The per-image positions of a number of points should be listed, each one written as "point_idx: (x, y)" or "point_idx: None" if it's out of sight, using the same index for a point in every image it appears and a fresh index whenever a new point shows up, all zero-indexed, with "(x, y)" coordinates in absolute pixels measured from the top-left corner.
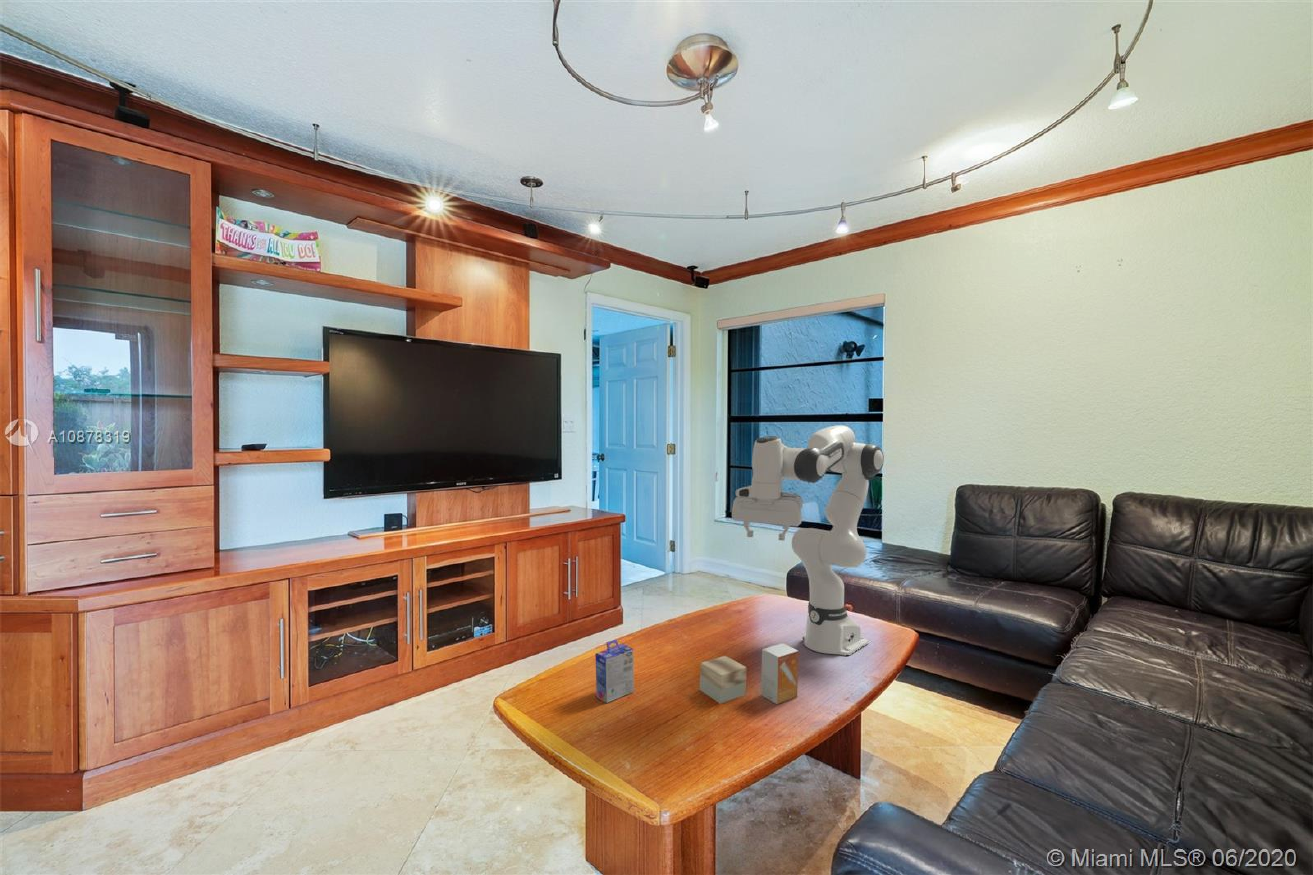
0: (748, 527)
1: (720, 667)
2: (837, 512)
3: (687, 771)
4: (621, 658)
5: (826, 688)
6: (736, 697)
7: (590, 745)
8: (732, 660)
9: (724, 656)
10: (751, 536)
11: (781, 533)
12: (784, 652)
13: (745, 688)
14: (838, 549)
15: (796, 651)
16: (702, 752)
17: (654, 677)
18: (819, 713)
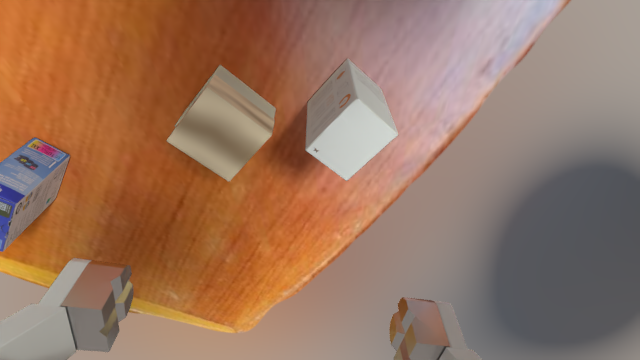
0: (26, 357)
1: (216, 150)
2: None
3: (242, 290)
4: (16, 220)
5: (451, 31)
6: None
7: None
8: (232, 110)
9: (207, 92)
10: (128, 306)
11: (431, 345)
12: (362, 155)
13: (274, 113)
14: None
15: (392, 139)
16: (248, 261)
17: (67, 87)
18: (416, 137)
